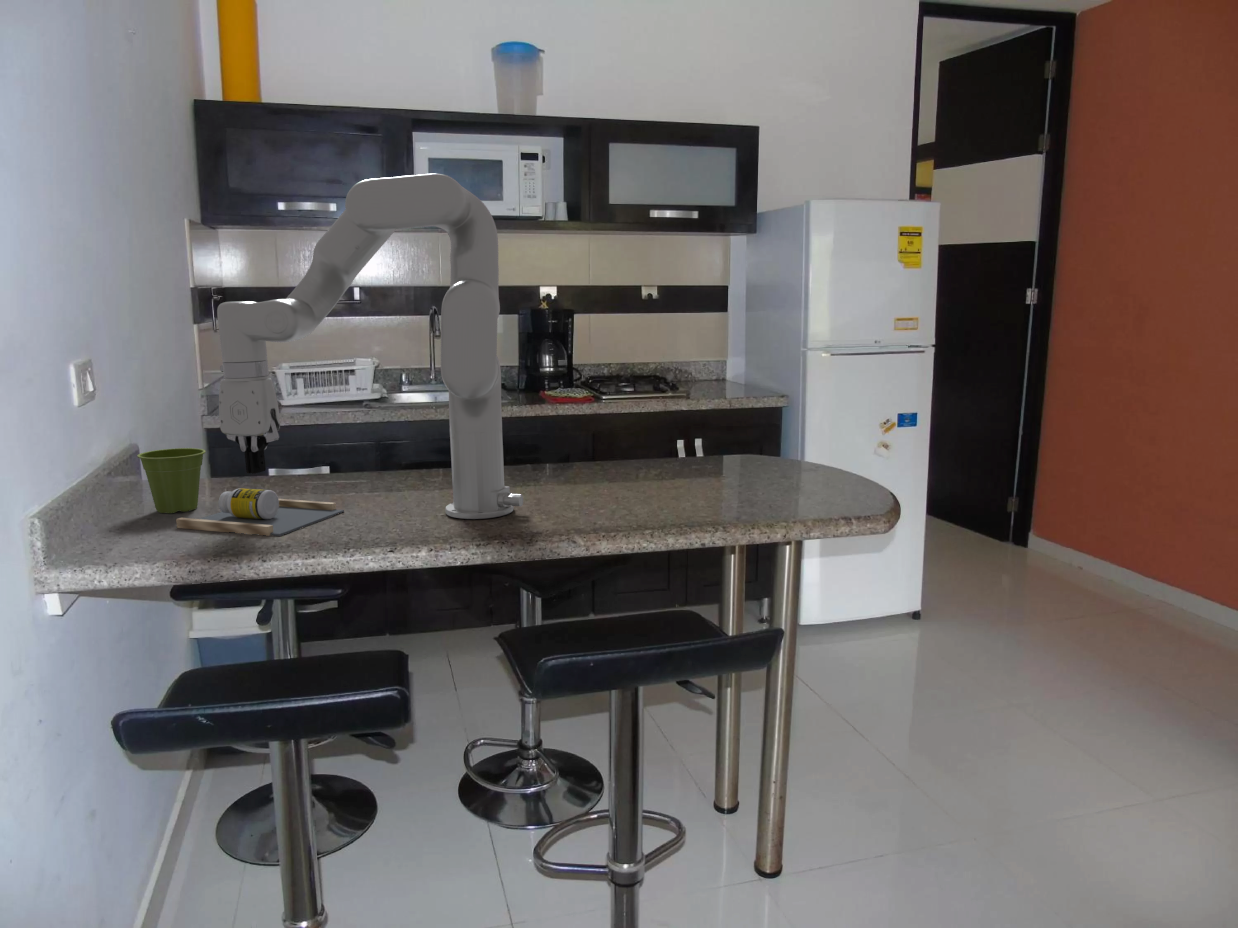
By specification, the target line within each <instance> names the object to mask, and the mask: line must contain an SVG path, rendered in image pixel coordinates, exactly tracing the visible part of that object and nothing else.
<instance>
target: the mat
mask: <svg viewBox="0 0 1238 928" xmlns="http://www.w3.org/2000/svg"><path fill="white" fill-rule="evenodd" d="M342 512H343V513H345V509H338V508H336V509H335V510H321V509H308V508H295V507H281V506H279V508H278V511H277V514H276V515H275V516H274V517H273V518H271V519H251V518H238V517H234V516H232V515H231V514H230V513H224V512H222V511H220V512H219V511H218V512H216V513H213V514H210V515H207V516H204V517H200V518H199V519H204V520H216V521H228V522H240V523H252V524H264V525H273V532H272V533H270V536H272V535H273V537H274V536H275V537H282V536H285V535H287V534H290V533H293V532H294V531H298V530H301V529H303V528H306V527H309V526H311V525H314V524H317V523H318V522H321V520H322V521H324V520H328V519H329V518H332V517H335V516H337V515H336V514H338V513H340V514H343V513H342ZM334 515H335V516H334ZM338 515H339V514H338ZM331 516H332V517H331ZM313 523H314V524H313ZM302 527H303V528H302ZM300 528H301V529H300ZM292 531H293V532H292ZM284 534H285V535H284Z"/></svg>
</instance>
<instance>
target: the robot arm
mask: <svg viewBox="0 0 1238 928" xmlns="http://www.w3.org/2000/svg"><path fill="white" fill-rule="evenodd" d="M344 203H345V204H344V205H345V209H344V211H342V212H341V214H340V215H339V216H338V217H337V219H336V220H335V221H334V222H333V224H332V225H330V227H329V228H328V229H327V230H326V232H325V233H324V234H323V235H322V236H321V237H320V239H319V240H318V241H317V242H316V244H315V246H314V248H313V253H312V260H311V263H310V266H309V268H308V270H307V272H306V273H305V275H304V276H303V278H302V279H301V281H300V282H299V283H298V284H297V285H296V286H295V288H294V289H293V290H292V291H291V292H290V294H288V295H287V297H285V298H278V299H270V300H264V301H252V300H251V301H250V300H246V301H243V300H242V301H240V300H239V301H225V302H224V301H223V302H222V303H221V302H220V304H219V305H218V306H217V310H216V314H217V324H218V326H217V327H218V335H219V342H220V352H221V361H222V364H221V365H220V367H219V371H220V372H222V373H223V379H221V380H220V384H219V389H218V391H219V392H218V414H219V415H218V417H219V428H220V431H221V433H222V434H224V435H225V436H226V438H227V439H228V440H229V441H230V440H231V441H233V442H236V443H237V445H239V447H240V450H241V452H244V461H245V469H246V471H245V472H246V474H253V475H255V474H256V475H257V474H259V473H263V472H265V471H266V469H267V468H266V458H265V450H266V449H267V448H268V445H269V444H270V443H271V442H275V441H279V439H280V434H279V432H278V431H280V429H281V417H280V409H279V403H278V397H277V392H276V389H275V386H274V382H273V379H272V378H271V377H270V373H269V363H268V353H267V342H271V343H290V342H293V341H298V340H302V339H305V338H306V337H308V336H309V335H311V334H312V333H313V332H314V331H315V330H316V328H318V327H319V325H320V324H321V323H322V322H323V321H324V319H325V318H327V316H328V315H329V314H330V312H331V311H332V310H333V309H334V308H335V306H336V305H337V304H338V303H339V301H340V300H341V298H342V297H343V295H344V294H345V293H346V292H347V290H348V289H349V288H350V286H351V285H352V284H353V282H354V281H355V279H356V277H357V276H358V275H359V273H360V272H362V270H363V269H364V268H365V266H366V265H367V264H368V263H369V261H370V260H371V259H372V258H373V257H374V256H375V255H376V254H377V252H378V251H379V250H380V249H381V248H382V247H383V246H384V245H385V243H386V242H387V241H388V240H389V238H390V237H391V236H392V235H393V234H394V233H395V231H396V230H403V229H404V230H406V229H415V228H417V229H418V228H426V227H436V228H438V229H442V230H443V231H445V232H446V234H447V235H448V238H449V241H450V256H449V257H450V259H449V261H450V280H449V282H450V285H449V288H448V289H447V291H446V293H445V295H444V296H443V299H442V301H441V310H440V314H441V315H440V376H441V379H442V381H443V384H444V386H445V388H446V389H447V390H448V418H449V419H448V421H449V437H450V438H449V439H450V441H449V442H450V458H451V459H450V461H451V477H452V479H451V481H452V496H453V497H452V498H453V500H452V501H453V502H451V503H449V504H448V505H446V506H445V514H446V515H447V516H449V517H451V518H455V519H463V520H464V519H465V520H481V519H493V518H498V517H502V516H506V515H509V514H510V513H512V512H513V511H514V507H522V506H523V504H524V497H523V494H522V493H521V494H520V493H511V492H510V490H511V489H510V486H508V485H505V473H504V471H505V470H504V469H505V468H504V445H503V444H504V443H503V419H502V418H503V417H502V415H503V414H502V411H503V410H502V373H501V372H502V369H501V364H500V359H499V357H498V355H497V353H498V319H499V317H500V312H501V311H500V310H501V306H500V305H501V303H500V299H499V298H500V295H499V277H500V276H499V275H500V274H499V273H500V271H499V270H500V269H499V268H500V267H499V238H498V237H499V236H498V229H497V226H496V222H495V220H494V218H493V216H492V213H491V212H490V210H489V209H488V207H487V205H486V204H485V203H484V202H483V201H482V200H481V199H480V198H479V197H477V195H475V194H474V193H472V192H471V191H470V190H468V189H466V188H465V187H463V186H462V185H461V184H460V183H459V182H458V181H457V180H456V179H455V178H453V177H451V176H449V175H447V174H442V173H425V174H424V173H423V174H416V175H415V174H411V175H401V176H393V177H392V176H391V177H380V178H376V177H375V178H369V179H367V178H366V179H364V180H361V181H359V182H357V183H355V184H354V185H353V186H352V187H351V188H350V189H349V191H348V192H347V194H346V197H345V202H344Z"/></svg>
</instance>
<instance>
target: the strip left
mask: <svg viewBox="0 0 1238 928" xmlns="http://www.w3.org/2000/svg"><path fill="white" fill-rule="evenodd" d="M175 521H176V528H177V529H185V530H194V531H195V530H196V531H197V530H198V531H207V532H218V533H219V532H220V533H229V532H235V533H234V534H241V533H244V534H245V535H252V534H259V535H258V536H263V535H266V537H269V536H271V535H270V533H272V532H273V525H264V524H252V523H240V522H228V521H216V520H204V519H200V518H192V517H191V518H188V517H179V518H175ZM246 533H247V534H246ZM244 534H243V535H244Z"/></svg>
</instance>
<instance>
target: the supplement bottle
mask: <svg viewBox="0 0 1238 928" xmlns="http://www.w3.org/2000/svg"><path fill="white" fill-rule="evenodd" d="M279 499H280V498H279V496H278V494H277V493H276V492H275V491H274V490H271V489H256V488H243V487H242V488H241V487H240V488H236V489H234V490H232V491H223V492H222V493H221V494H220V496H219V499H218V508H219V510H220V512H224V513H230V514H231V515H232V516H234V517H238V518H251V519H271V518H273V517H274V516H275V515H276V514H277V511H278V508H279Z"/></svg>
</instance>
